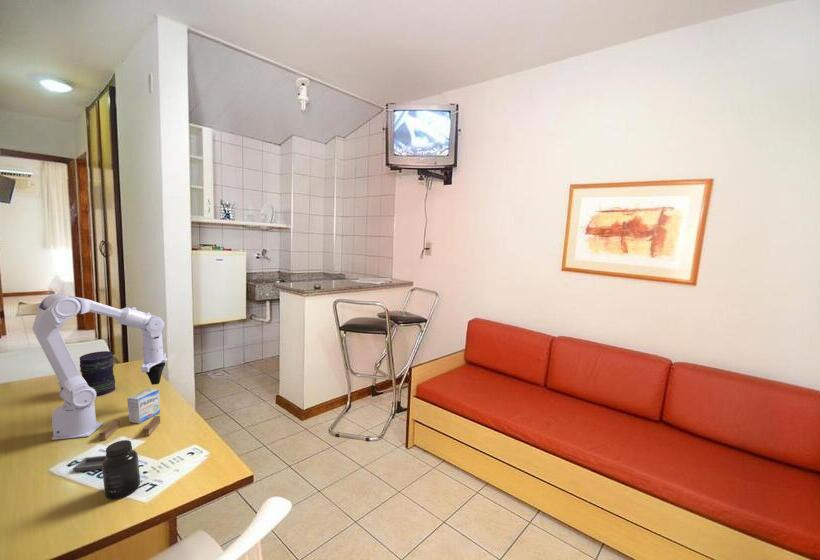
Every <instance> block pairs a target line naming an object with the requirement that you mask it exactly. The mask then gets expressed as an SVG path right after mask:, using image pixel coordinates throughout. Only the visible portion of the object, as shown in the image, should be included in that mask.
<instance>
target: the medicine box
mask: <svg viewBox="0 0 820 560" xmlns="http://www.w3.org/2000/svg"><path fill="white" fill-rule="evenodd" d="M160 401H161V400H160V390H159V389H156V388H148V389H145V390H143V391H141V392H139V393H136V394H135V395H131V396H130V397H128V398H127V400H126V402H127V409H128V410H127V411H128V422H129V423H135V424H142V423H144V422H146V421H148V420H149V419H150V418H151V419H152V418H154V417H155V416H158V414H160V413H161V402H160Z"/></svg>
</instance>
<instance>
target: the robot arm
mask: <svg viewBox="0 0 820 560" xmlns="http://www.w3.org/2000/svg"><path fill="white" fill-rule="evenodd" d="M86 313H94V314H98V315H101V316H107V317H109V318H114V319H115V320H116V322H117V323H118V324H121V325H124V326H127V327H131V328H135V329H140V330H141V332H142V349H143V361H142V366H141V367H140V369H141V373H145V374H146V375H147V376H148V379H149V381H150V383H151V385H152V386H153V385H159V384H160V383H161V377H162V373H163V371H164V368H165V366H166V362H167V361H168V357H167V353H166V352H164V345H163V343H164V342H163V330H164V328H165V325H166V323H165V322H164V320H163V319H162V317H161V316H157V315H154V314H151V312H148V311H146V312H144V311H140V310H138V309H137V307H134V306H130V307H128V306H127V307H124V308H116V307H114V306H110V305H107V304H104V303H101V302H97V301H95V300H91V299H88V298H85V297H77V296H73V295H68V296H67V295H65V294H62V293H52V294H49V295H47V296H45V298H43V300H41V302H40V303H39V304H38V305H37V311H36V314H35V315H36V316H35V318H34V322H33V325H32V331H33V334H34V335H35V337H36V340H37V341H38V343H39V345H40V346H41V349H42V350H43V352H44V354H45V357H46V359H47V360H48V362H49V364H50V366H51V368H52V370H53V372H54V374H55V375H56V377H57V379H58V385H59V386H58V387H59V398H60V399H62V400H64V403H63V405H59V406H57V407H56V408H55V410H53V412H52V416H51V425H52V435H53V437H51V440H52V441H54V440H63V439H74V438H85V437H90V436H91V435H92V434H93V433H94V432H95V431H97V430H98V429H99V427H101V426H102V425H104V421H99V422H98V421H97V417H96V416H97V415H96V406H95V403H96V402H95V400H96V398H97V397H96V391H95V390H94V389H93V388H91V387H89V386H88V384H87V382H86V381H85V380H84V378H83V377H82V373H81V371H80V369H79V368H78V366H77V364H76V362H75V360H74V358H73V356H72V354H71V352H70V350H69V348H68V346H67V344H66V342H65V340H64V337H63V336H62V334H61V331H60V330H61V328H62V327H63V326H64V324H66V322H68V321H69V320H71V319H72V318H74V317H75V316H77V315H78V314H80V315H83V314H86Z"/></svg>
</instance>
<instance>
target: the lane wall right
mask: <svg viewBox="0 0 820 560" xmlns="http://www.w3.org/2000/svg"><path fill="white" fill-rule="evenodd" d="M160 424H161V415H155V416H153V417H152V418H151V420H150V421H149V422H148V423H147V425H145V427H144V428H143V429H142V431H143V433H142V434H143V437H150V436H151V435H152V434H153V432H154V431H155V430H156V429H157V428H158V427H159V425H160Z"/></svg>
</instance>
